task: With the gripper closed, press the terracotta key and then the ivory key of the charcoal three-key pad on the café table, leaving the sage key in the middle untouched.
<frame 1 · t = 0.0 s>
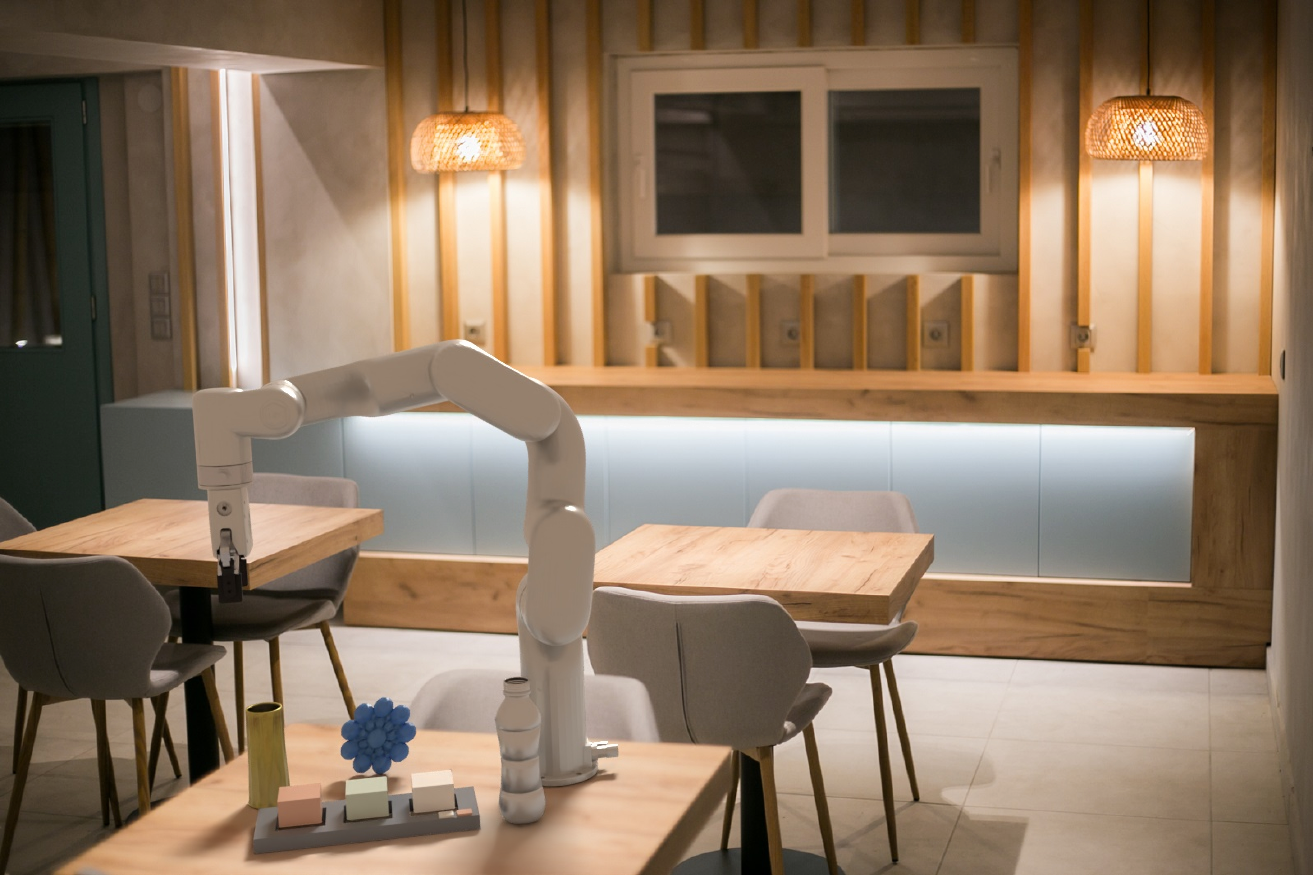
hand: (234, 594, 205), 31 cm above the table, tool pointing down, fingers open, 9 cm apart
key terracotta: (301, 818, 197), point 2 cm above the table, slide at 0.0 cm
key sage: (367, 811, 199), point 2 cm above the table, slide at 0.0 cm
keypad board: (368, 825, 199), on the table
blue flower rosette: (381, 773, 220), on the table
plastic bottle: (523, 821, 200), on the table
key ivory: (433, 804, 201), point 2 cm above the table, slide at 0.0 cm
vase: (270, 803, 209), on the table
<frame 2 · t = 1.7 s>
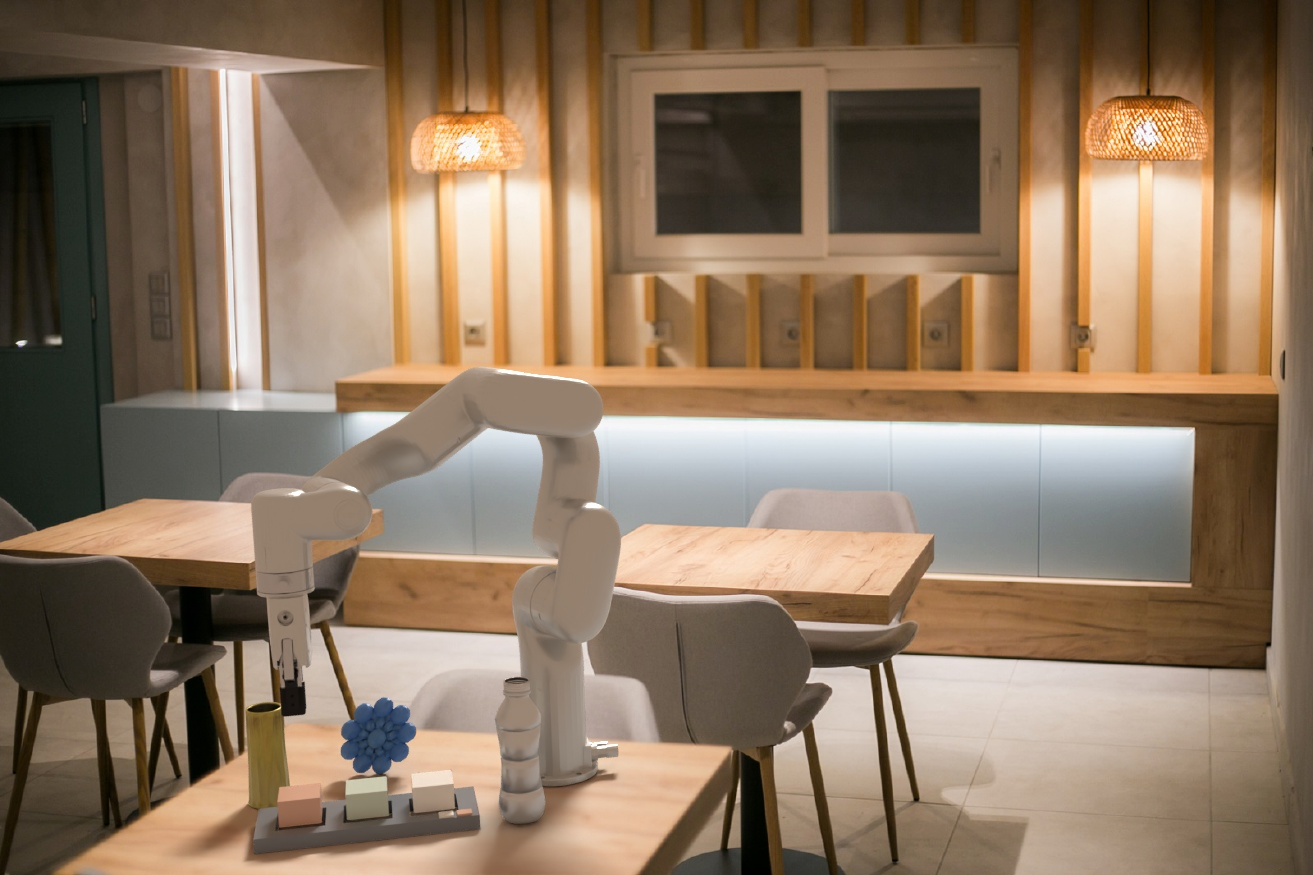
hand: (294, 712, 195), 17 cm above the table, tool pointing down, fingers closed
nothing on the table moved.
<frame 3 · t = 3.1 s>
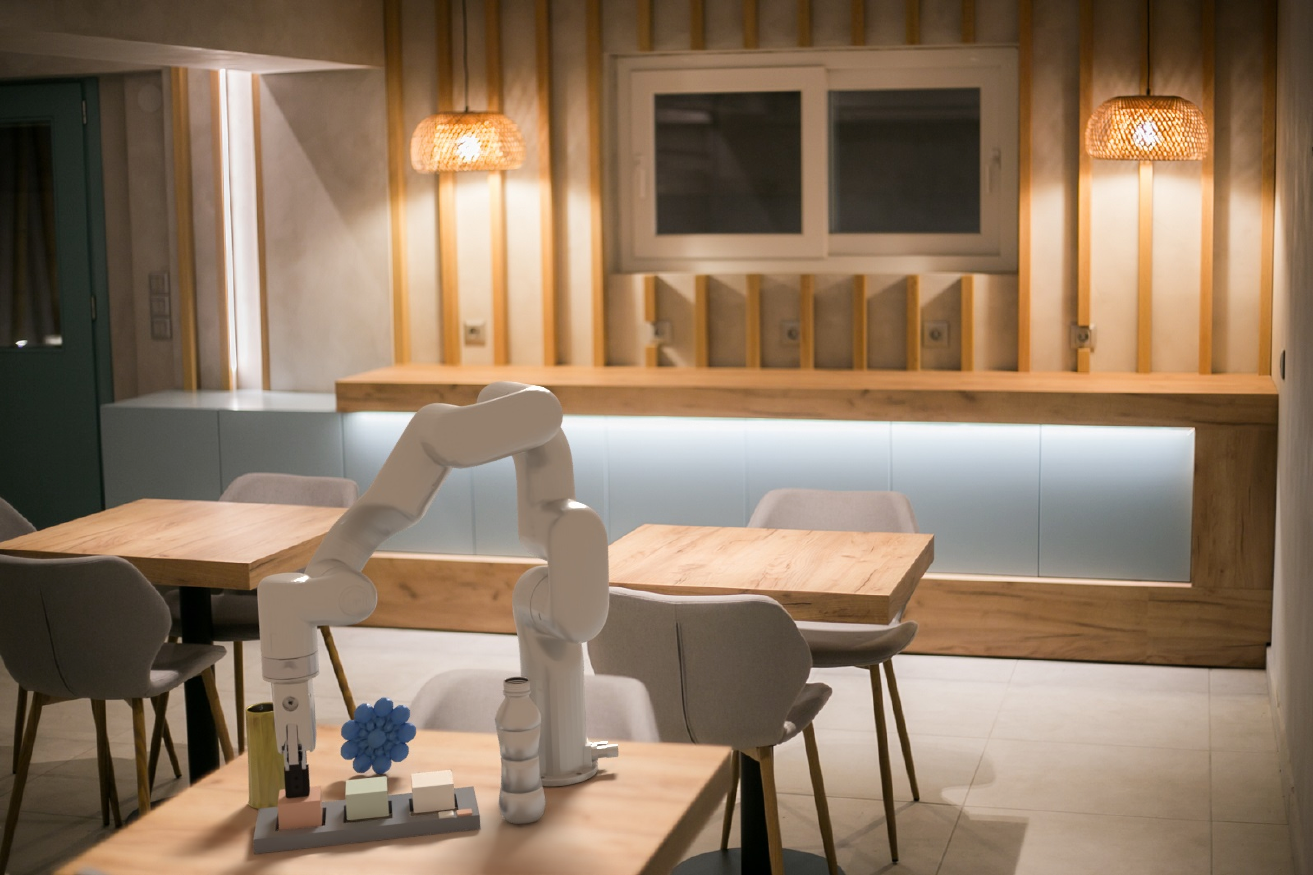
hand: (297, 795, 197), 5 cm above the table, tool pointing down, fingers closed
key terracotta: (301, 821, 197), point 2 cm above the table, slide at 0.4 cm, touching gripper
everything else where it was.
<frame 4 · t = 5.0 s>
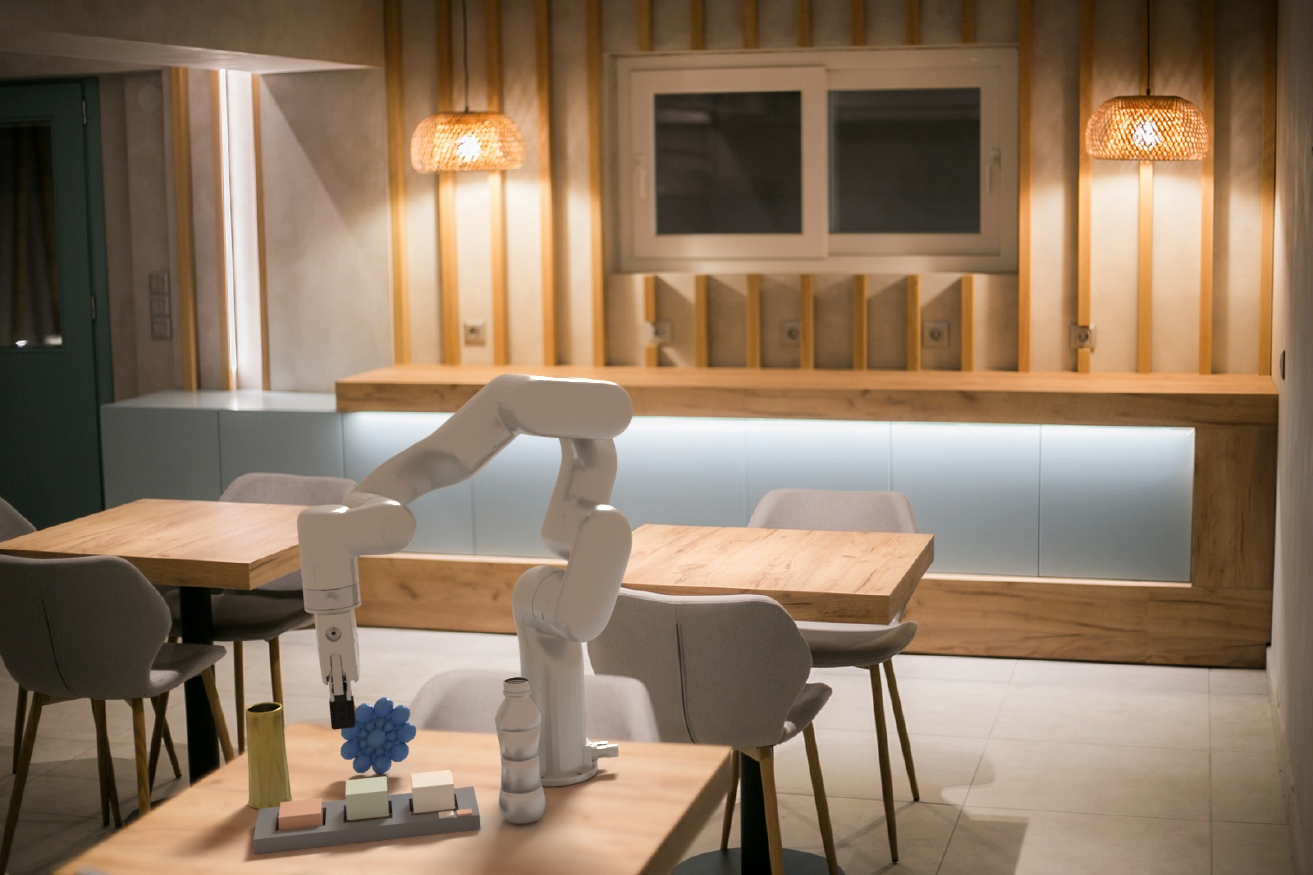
hand: (343, 726, 197), 14 cm above the table, tool pointing down, fingers closed
key terracotta: (302, 834, 198), resting in keypad board, slide at 2.2 cm
everything else where it was.
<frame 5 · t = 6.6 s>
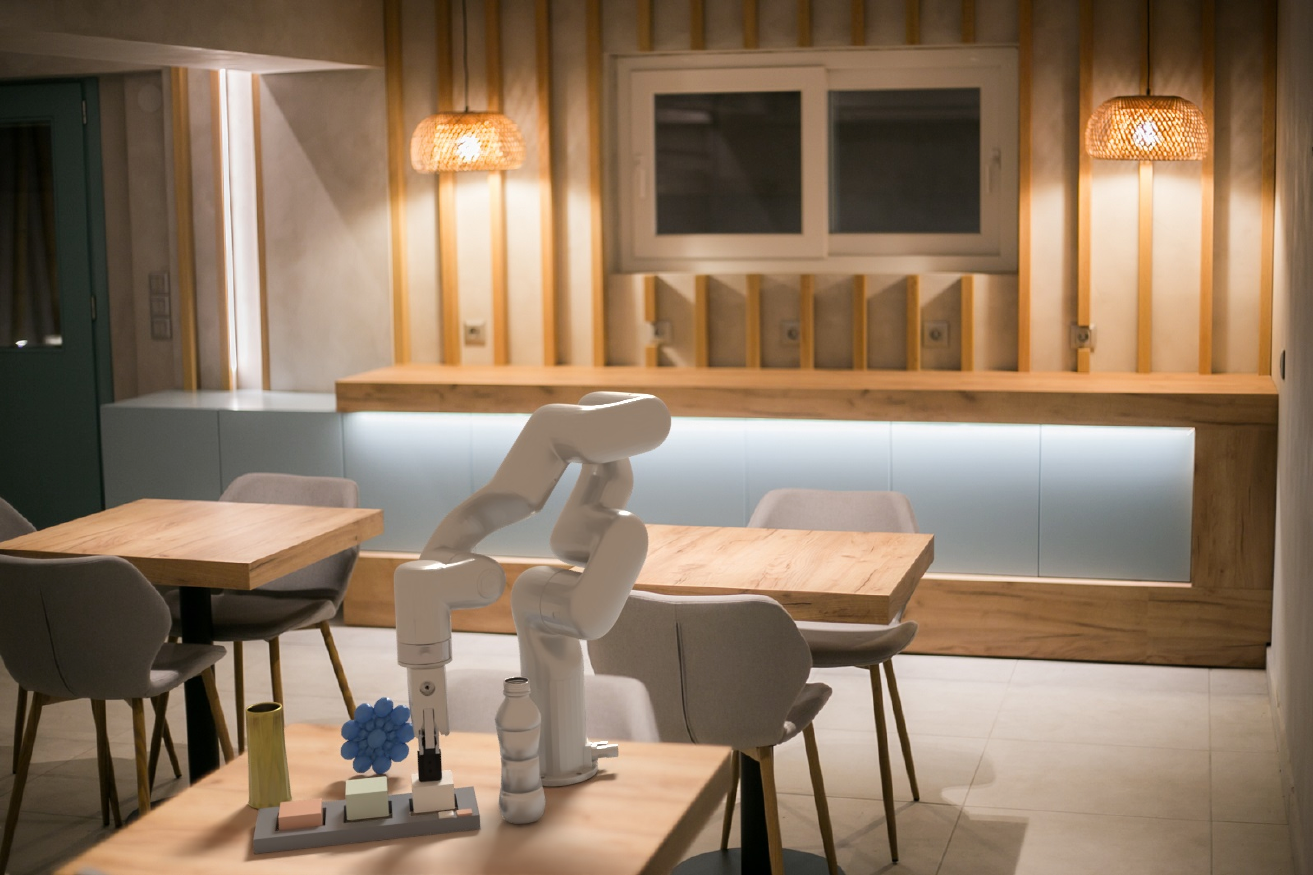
hand: (430, 779, 200), 6 cm above the table, tool pointing down, fingers closed
key ivory: (433, 804, 201), point 2 cm above the table, slide at 0.0 cm, touching gripper
everything else where it was.
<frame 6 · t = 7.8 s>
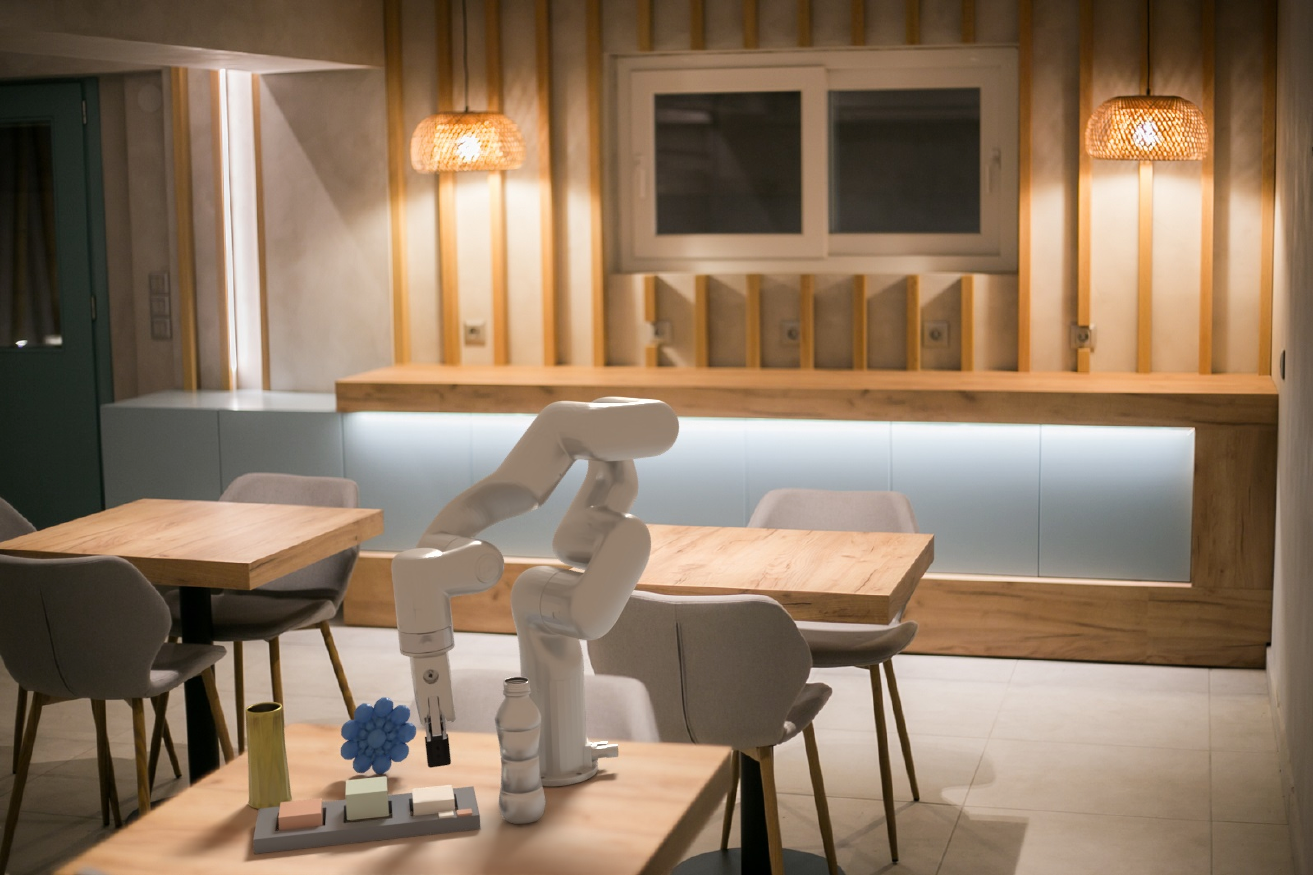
hand: (439, 763, 201), 8 cm above the table, tool pointing down, fingers closed
key ivory: (434, 819, 201), resting in keypad board, slide at 2.2 cm
everything else where it was.
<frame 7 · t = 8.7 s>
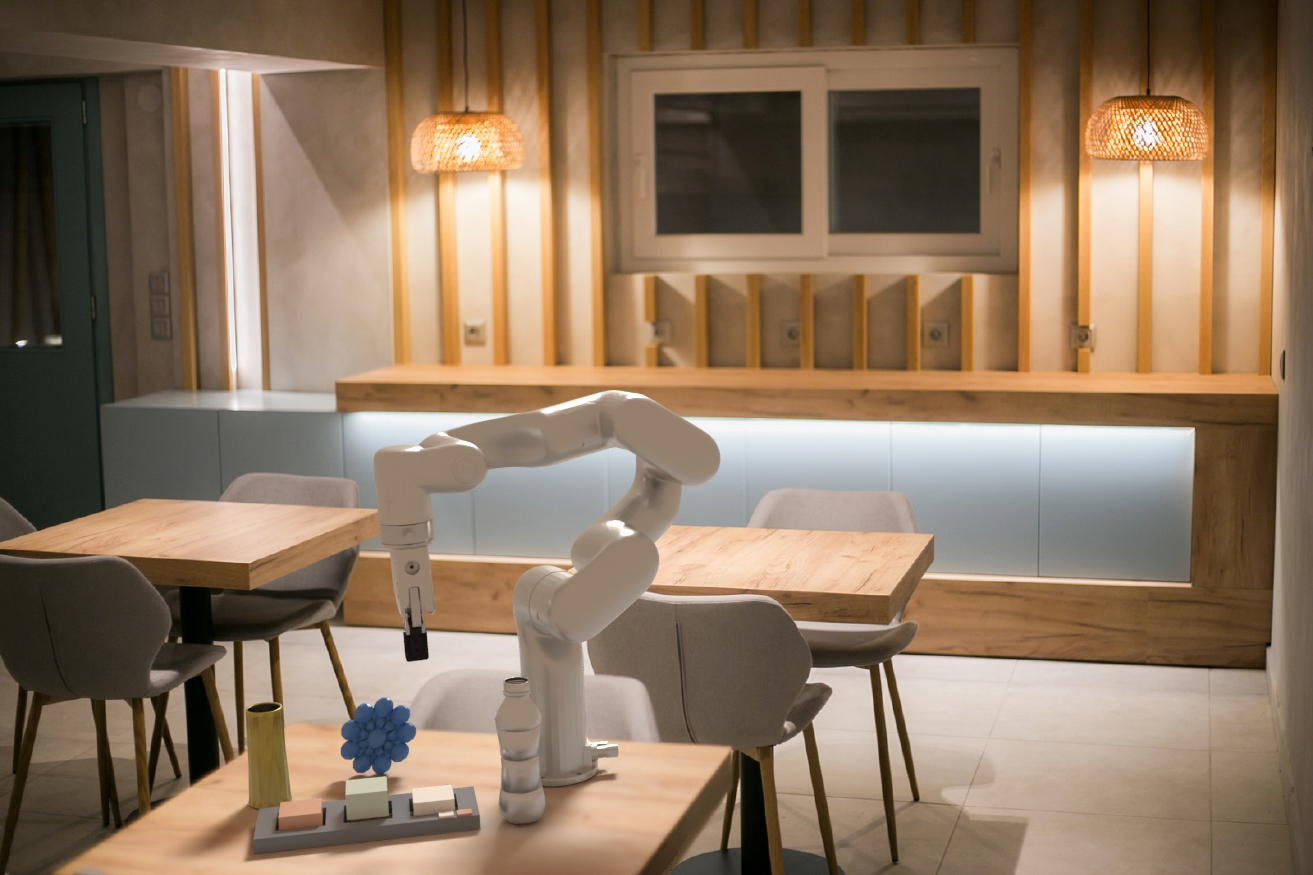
hand: (417, 658, 205), 21 cm above the table, tool pointing down, fingers closed
nothing on the table moved.
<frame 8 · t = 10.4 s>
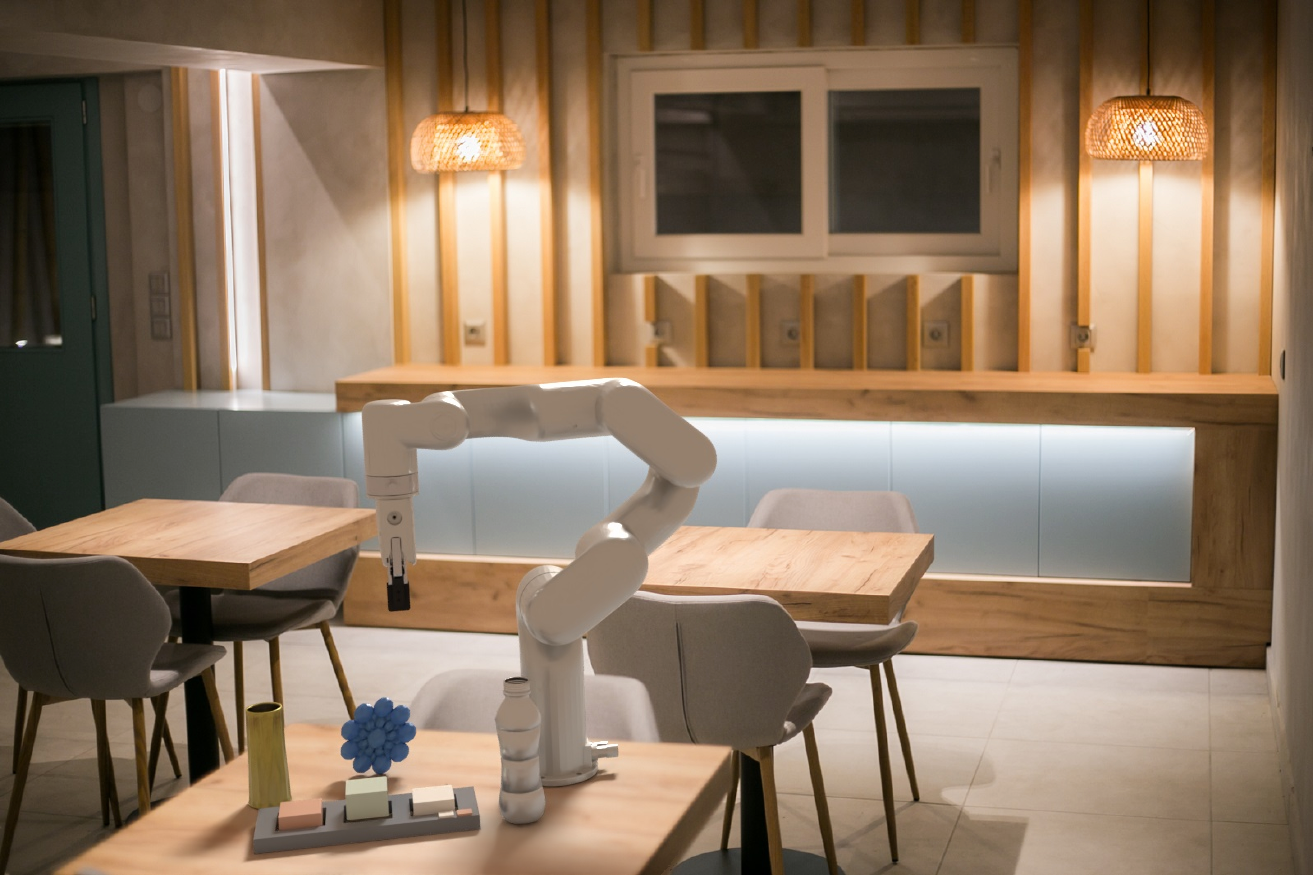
hand: (399, 609, 210), 27 cm above the table, tool pointing down, fingers closed
nothing on the table moved.
at the end: key terracotta slide at 2.2 cm; key ivory slide at 2.2 cm; key sage slide at 0.0 cm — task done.
